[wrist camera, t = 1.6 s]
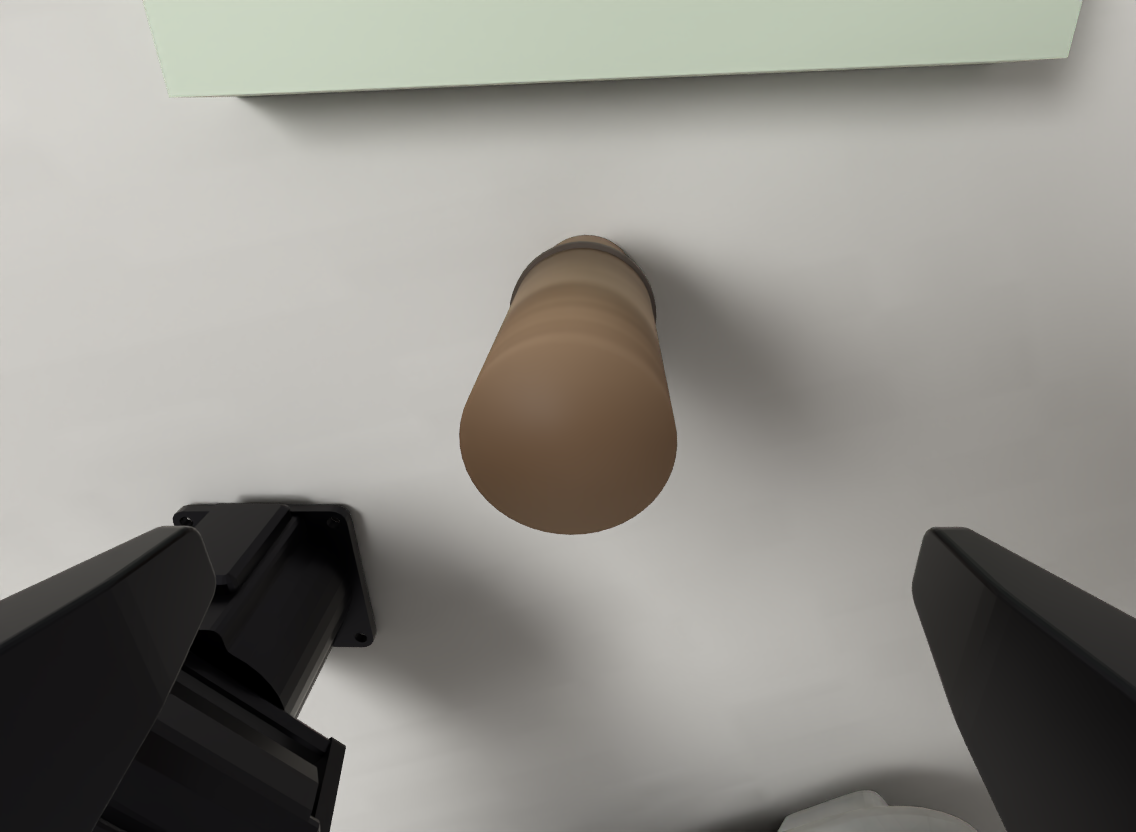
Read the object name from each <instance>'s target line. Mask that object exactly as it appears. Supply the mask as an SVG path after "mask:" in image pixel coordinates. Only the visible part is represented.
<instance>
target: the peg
mask: <svg viewBox="0 0 1136 832" xmlns="http://www.w3.org/2000/svg"><path fill="white" fill-rule="evenodd" d="M459 437H460V449H461V454H462V459H463V462H464V464H465V467H466V470H467V472H468V474H469V476H470V478H471V480H472V482H473V483H474V485H475V486H476V488H477V489H478V490H479V492H480V493H481V494H482V495H483V496H484V497H485V499H486V500H487V501H488V502H489V503H490V504H492V505H493V506H494V507H495V508H496V509H497V510H499V511H500V512H502V513H503V514H504V515H506V516H507V517H509V518H511V519H513V520H515V521H516V522H518V523H520V524H523V525H525V526H528V527H530V528H533V529H537V530H540V531H544V532H550V533H556V534H569V535H574V534H587V533H594V532H599V531H602V530H606V529H610V528H612V527H615V526H617V525H620V524H622V523H624V522H626V521H628V520H629V519H631V518H633V517H635V516H636V515H637V514H639V513H640V512H641V511H643V510H644V509H645V508H646V507H647V506H648V505H650V504H651V503H652V502H653V501H654V499H655V498H656V497H657V496H658V495H659V493H660V492H661V491H662V489H663V487H664V486H665V484H666V483H667V481H668V479H669V476H670V474H671V472H672V469H673V466H674V462H675V458H676V450H677V431H676V426H675V421H674V416H673V411H672V406H671V401H670V396H669V391H668V386H667V381H666V376H665V371H664V366H663V361H662V355H661V350H660V345H659V340H658V335H657V330H656V305H655V300H654V295H653V292H652V289H651V286H650V284H649V282H648V280H647V278H646V276H645V275H644V273H643V272H642V270H641V269H640V268H639V267H638V266H637V264H636V263H635V262H634V261H633V260H631V259H630V258H629V257H628V256H627V255H626V254H625V253H624V252H623V251H622V250H621V249H620V248H619V247H618V246H617V245H615V244H614V243H612V242H611V241H609V240H606V239H604V238H601V237H598V236H592V235H582V236H575V237H571V238H569V239H566V240H564V241H562V242H560V243H559V244H557V245H556V246H555V247H553V248H551V249H549V250H547V251H545V252H543V253H542V254H541V255H539V256H538V257H536V258H535V259H534V260H533V261H532V262H531V263H530V264H529V265H528V266H527V268H526V269H525V270H524V271H523V273H522V274H521V276H520V278H519V280H518V281H517V284H516V286H515V288H514V291H513V294H512V298H511V302H510V308H509V310H508V313H507V315H506V317H505V319H504V321H503V324H502V326H501V328H500V330H499V332H498V334H497V337H496V339H495V341H494V343H493V345H492V348H491V350H490V352H489V354H488V356H487V358H486V361H485V363H484V365H483V367H482V369H481V371H480V374H479V376H478V378H477V380H476V382H475V385H474V387H473V389H472V391H471V393H470V395H469V398H468V400H467V402H466V405H465V407H464V410H463V414H462V418H461V422H460V433H459Z"/></svg>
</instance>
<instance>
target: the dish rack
mask: <svg viewBox="0 0 1136 832" xmlns="http://www.w3.org/2000/svg"><path fill="white" fill-rule="evenodd" d="M778 832H978V831H977V830H976V829H974V828H973V827H972V826H971V825H970V824H968V823H966V822H965V821H963V820H961V819H959V818H958V817H955V816H953V815H950V814H947V813H945V812H941V811H936V810H932V809H927V808H923V807H914V806H888V804H887V803H886V802H885V801H884V800H883V798H882V797H881V796H880V795H879V794H877V793H876V792H874V791H871V790H861V791H856V792H853V793H849V794H846V795H843V796H840V797H837V798H835V799H832V800H829V801H826V802H823V803H821V804H818V805H815V806H812V807H809V808H807V809H804V810H801V811H798V812H795V813H793V814H790V815H788V816H786V818H785V819H784V821H783V823H782V825H781V826H780V828H779V830H778Z"/></svg>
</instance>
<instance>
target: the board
mask: <svg viewBox="0 0 1136 832" xmlns="http://www.w3.org/2000/svg"><path fill="white" fill-rule="evenodd" d="M142 1H143V4H144V8H145V12H146V15H147V19H148V23H149V26H150V30H151V33H152V37H153V41H154V44H155V48H156V52H157V55H158V59H159V62H160V66H161V70H162V73H163V77H164V81H165V84H166V88H167V91H168V95H169V98H174V97H238V96H261V95H284V94H306V93H329V92H352V91H375V90H397V89H420V88H443V87H466V86H488V85H511V84H534V83H557V82H579V81H602V80H625V79H648V78H670V77H693V76H716V75H739V74H761V73H784V72H807V71H830V70H852V69H875V68H898V67H921V66H943V65H966V64H989V63H1004V62H1018V61H1032V60H1046V59H1059V58H1068V54H1069V51H1070V47H1071V43H1072V39H1073V35H1074V32H1075V28H1076V24H1077V20H1078V16H1079V12H1080V9H1081V5H1082V1H1083V0H142Z"/></svg>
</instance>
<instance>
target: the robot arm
mask: <svg viewBox="0 0 1136 832" xmlns="http://www.w3.org/2000/svg"><path fill="white" fill-rule="evenodd" d="M331 517H335V518H337V519H338V520H339V521H340V522H335V521H334V520H333V519H332V518H331ZM187 518H189V519H191V520H192V522H191V521H190V520H188V519H187ZM173 523H174V526H161V527H157V528H155V529H153V530H151V531H149V532H146V533H144V534H142V535H140V536H138V537H136V538H133V539H131V540H129V541H127V542H125V543H123V544H121V545H118V546H116V547H114V548H112V549H110V550H108V551H106V552H103V553H101V554H99V555H97V556H95V557H93V558H91V559H88V560H86V561H84V562H82V563H80V564H78V565H76V566H73V567H71V568H69V569H67V570H65V571H63V572H61V573H58V574H56V575H54V576H52V577H50V578H48V579H46V580H43V581H41V582H39V583H37V584H35V585H33V586H31V587H28V588H26V589H24V590H22V591H20V592H18V593H16V594H13V595H11V596H9V597H7V598H5V599H3V600H0V832H330V826H331V821H332V816H333V811H334V806H335V801H336V795H337V790H338V785H339V780H340V775H341V770H342V764H343V759H344V754H345V749H346V746H345V745H343V744H342V743H340V742H339V741H337V740H336V739H334V738H332V737H331V738H329V739H328V738H326V737H325V736H323V735H322V734H320V733H318V732H317V731H315V730H314V729H312V728H311V727H309V726H307V725H306V724H304V723H303V722H301V721H300V720H298V719H297V717H298V715H299V713H300V711H301V709H302V707H303V705H304V703H305V701H306V699H307V697H308V695H309V693H310V691H311V689H312V687H313V685H314V683H315V681H316V679H317V677H318V675H319V673H320V671H321V669H322V667H323V665H324V663H325V661H326V659H327V657H328V655H329V653H330V651H331V649H332V647H367V646H369V645H371V644H372V642H373V641H374V638H375V636H376V626H375V621H374V617H373V612H372V608H371V603H370V599H369V594H368V590H367V585H366V581H365V576H364V572H363V567H362V563H361V558H360V554H359V549H358V545H357V540H356V536H355V531H354V527H353V522H352V518H351V515H350V513H349V511H348V510H347V509H346V508H344V507H342V506H339V505H284V504H281V503H219V504H216V505H186V506H183V507H182V508H181V509H180V510H178V511H177V512H176V513H175V514H174V516H173ZM912 595H913V600H914V604H915V607H916V609H917V612H918V615H919V618H920V621H921V624H922V627H923V630H924V633H925V636H926V638H927V641H928V644H929V647H930V650H931V653H932V656H933V659H934V662H935V665H936V667H937V670H938V673H939V676H940V679H941V682H942V685H943V688H944V691H945V694H946V696H947V699H948V702H949V705H950V707H951V710H952V713H953V715H954V718H955V721H956V723H957V725H958V728H959V730H960V732H961V735H962V737H963V739H964V741H965V744H966V746H967V748H968V750H969V752H970V754H971V756H972V758H973V761H974V763H975V765H976V767H977V769H978V771H979V773H980V775H981V778H982V780H983V782H984V784H985V786H986V788H987V790H988V792H989V794H990V797H991V799H992V801H993V803H994V805H995V807H996V809H997V811H998V814H999V816H1000V818H1001V820H1002V822H1003V824H1004V826H1005V828H1006V831H1007V832H1136V619H1135V618H1134V617H1132V616H1130V615H1128V614H1126V613H1124V612H1122V611H1121V610H1119V609H1117V608H1115V607H1113V606H1111V605H1109V604H1108V603H1106V602H1104V601H1102V600H1100V599H1098V598H1097V597H1095V596H1093V595H1091V594H1089V593H1087V592H1085V591H1084V590H1082V589H1080V588H1078V587H1076V586H1074V585H1072V584H1071V583H1069V582H1067V581H1065V580H1063V579H1061V578H1059V577H1058V576H1056V575H1054V574H1052V573H1050V572H1048V571H1047V570H1045V569H1043V568H1041V567H1039V566H1037V565H1035V564H1034V563H1032V562H1030V561H1028V560H1026V559H1024V558H1022V557H1021V556H1019V555H1017V554H1015V553H1013V552H1011V551H1010V550H1008V549H1006V548H1004V547H1002V546H1000V545H998V544H997V543H995V542H993V541H991V540H989V539H987V538H985V537H984V536H982V535H980V534H978V533H976V532H974V531H973V530H971V529H968V528H964V527H932V528H931V529H929V530H927V532H926V533H925V535H924V537H923V540H922V544H921V548H920V552H919V556H918V560H917V564H916V569H915V573H914V577H913V582H912ZM361 633H363V634H365V635H363V634H361Z"/></svg>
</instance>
